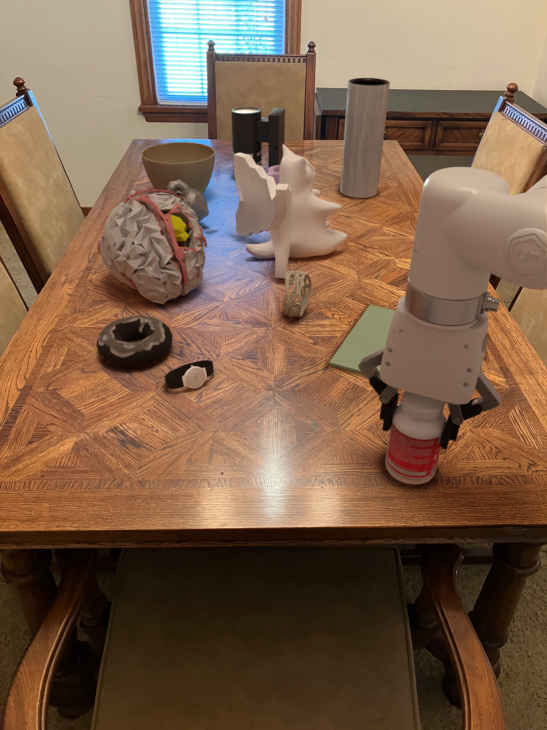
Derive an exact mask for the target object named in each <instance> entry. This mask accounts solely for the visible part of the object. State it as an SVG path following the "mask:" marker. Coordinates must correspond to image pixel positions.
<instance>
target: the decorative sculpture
mask: <svg viewBox="0 0 547 730" xmlns="http://www.w3.org/2000/svg"><path fill="white" fill-rule="evenodd" d="M157 191H162V192H166V193H158V192H157ZM145 192H152V193H145ZM167 193H172V194H174V195H176V196H178V197H179V198H178V197H176V196H173V195H171V194H167ZM140 194H142V195H140ZM180 198H181V199H183V198H182V197H180V196H179V195H177V194H176V193H174V192H173V191H167V190H158V189H155V188H146V189H143V190H140V191H138V192H135V193H133V194H130V195H129V196H128V197H125V200H123V201H122V202H120V203H118V205H116V206H115V207H114V208H113V209H112V210H111V211H110V213H109V215H108V218H107V220H106V222H105V224H104V229H103V232H102V234H101V236H100V239H99V241H98V242H97V253H98V254H99V255H100V257H101V260H102V262H103V264H104V266H105V267H106V269H107V270H108V271H109V272H110V273H111V274H112V275H113V276H114V277H115V278H116V279H117V280H119V281H120V282H122V283H123V284H125V285H126V286H128V287H130V288H131V290H135V291H138V293H139V295H140V296H142V297H144V298H145V299H146V300H148V301H150V302H152V303H156V304H161V305H164V304H165V303H167V301H171V300H172V299H177V298H178V297H179V296H181V297H184V296H186V295H187V294H189V292H191V291H192V290H194V289H197V288H198V287H200V286H201V284H202V281H203V279H204V275H203V274H204V272H203V270H204V266H205V264H206V257H207V256H206V252H205V251H206V250H205V248H207V247H208V243H207V238H206V236H205V235H204V229H203V227H202V226H201V224H200V223H199V222H198V217H197V216H196V213H195V212H194V211H193V210H192V209H191V208H190V207H189V206H188V205H187V204H186V203H184V202H183V201H182V200H181V199H180ZM183 200H185V199H183ZM185 201H186V200H185ZM187 202H188V201H187ZM189 203H190V202H189ZM131 290H128V293H130V294H132V291H131Z"/></svg>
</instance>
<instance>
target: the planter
mask: <svg viewBox="0 0 547 730" xmlns="http://www.w3.org/2000/svg"><path fill="white" fill-rule="evenodd" d="M390 85H391V81H389V80H387V79H384V78H378V77H377V78H376V77H357V78H351V79H349V80H348V81H347V89H346V90H347V91H346V102H345V104H346V105H345V118H344V131H343V143H342V144H343V146H342V159H341V172H340V186H339V187H340V190H339V191H340V193H341V194H342V195H343V196H345V197H349V198H354V199H368V198H373V197H374V196H377V195H378V191H379V182H380V175H381V167H382V159H383V158H382V157H383V148H384V140H385V139H384V137H385V130H386V123H387V122H386V121H387V113H388V103H389V93H390Z"/></svg>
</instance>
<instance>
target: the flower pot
mask: <svg viewBox="0 0 547 730" xmlns="http://www.w3.org/2000/svg"><path fill="white" fill-rule="evenodd" d="M140 156H141V160H142V165H143V168H144V171H145V173H146V175H147V178H148V180H149V181H150V183H151V185H152V187H153V189H158V190H167V186H168V184H169V183H170V182H171V181H176V180H181V181H182V182H184V183H185V184H187V185H188V186H189V188H190V189H196V190H197V191H199V192H200V193H201V194H202V195H203V194H204V193H205V191H206V189H207V188H208V186H209V185H210V182H211V179H212V177H213V172H214V168H215V162H216V161H215V160H216V151H215V149H214V148H213V147H212V146H210V145H207V144H204V143H199V142H193V141H192V142H191V141H172V142H164V143H158V144H154V145H150V146H147V147H146V148H144V149H143V150H142V151H141V153H140ZM156 193H166V192H162V191H156ZM167 194H171V193H167ZM171 195H173V194H171ZM173 196H174V195H173Z"/></svg>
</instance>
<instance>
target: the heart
mask: <svg viewBox="0 0 547 730" xmlns="http://www.w3.org/2000/svg"><path fill="white" fill-rule="evenodd" d="M167 191H173V192H174V193H176V194H177V195H179V196H180V197H182V198H183V199H185V200H186V201H185V200H183V199H181V198H180V199H181V200H182V201H183V202H184V203H186V204H187V205H188V206H189V207H190V208H191V209H192V210H193V211H194V212H195V213H196V216H197V217H198V223H199V222H201V221H202V220H203V219H205V218H206V217H208V216H209V214H210V211H209V207H208V203H207V200H206V199H205V197H204V195H203V194H201V193H200V192H199V191H197V190H196V189H190V188H189V186H188V185H187V184H185V183H184V182H182V181H181V180H176V181H171V182H170V183H169V184H168V186H167ZM171 194H172V193H171ZM173 195H174V194H173ZM174 196H176V195H174ZM176 197H178V196H176ZM178 198H179V197H178ZM187 201H188V202H187ZM189 202H190V203H189Z"/></svg>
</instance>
